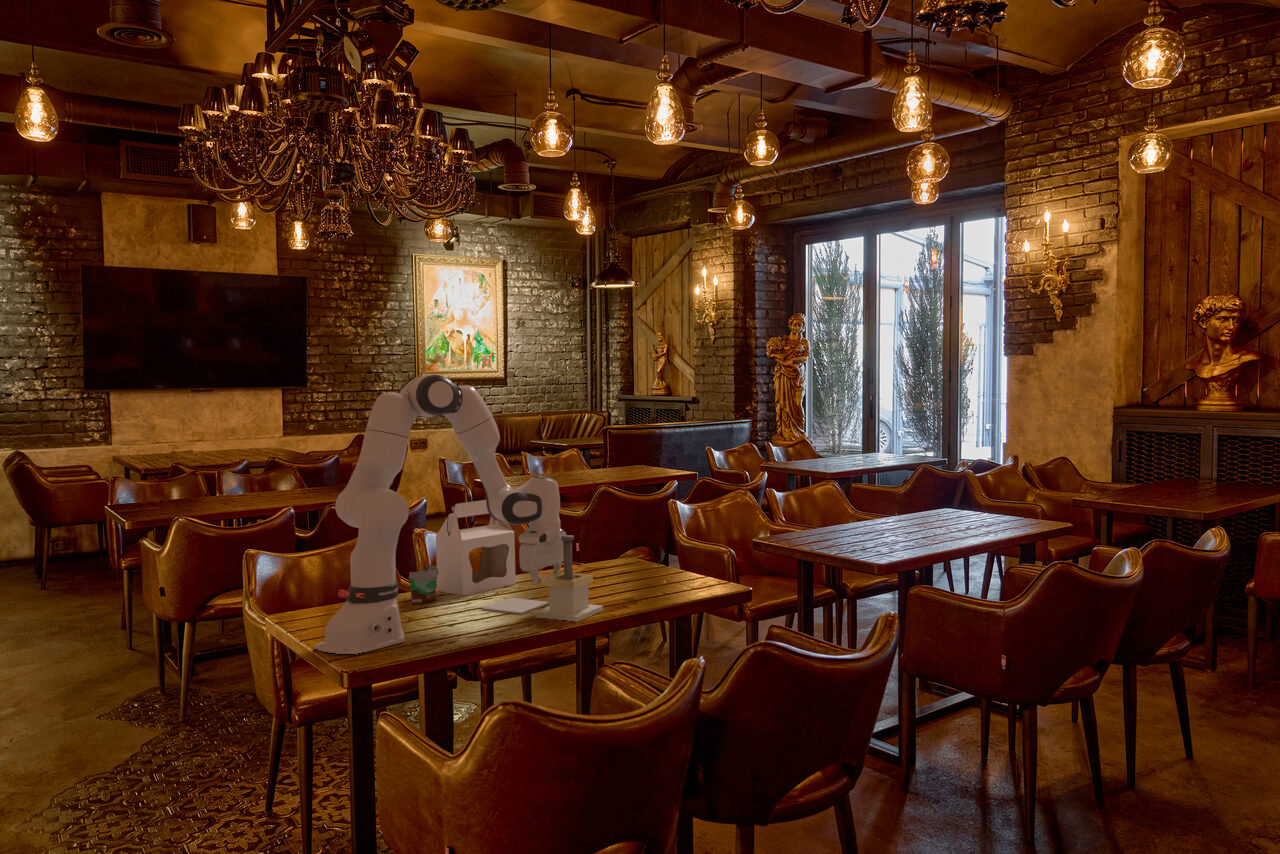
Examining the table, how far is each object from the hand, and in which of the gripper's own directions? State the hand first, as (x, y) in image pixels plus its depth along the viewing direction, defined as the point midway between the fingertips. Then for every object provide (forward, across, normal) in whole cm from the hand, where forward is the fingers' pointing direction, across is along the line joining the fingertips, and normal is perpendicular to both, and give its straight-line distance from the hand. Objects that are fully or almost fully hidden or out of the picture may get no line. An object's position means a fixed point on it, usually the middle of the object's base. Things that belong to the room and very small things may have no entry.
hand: (546, 581), depth 257 cm
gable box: (+9, -18, -40) cm, 44 cm away
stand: (+9, 0, +8) cm, 11 cm away
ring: (0, 0, +5) cm, 5 cm away
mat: (+9, -1, -12) cm, 14 cm away
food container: (+9, +4, -40) cm, 42 cm away
